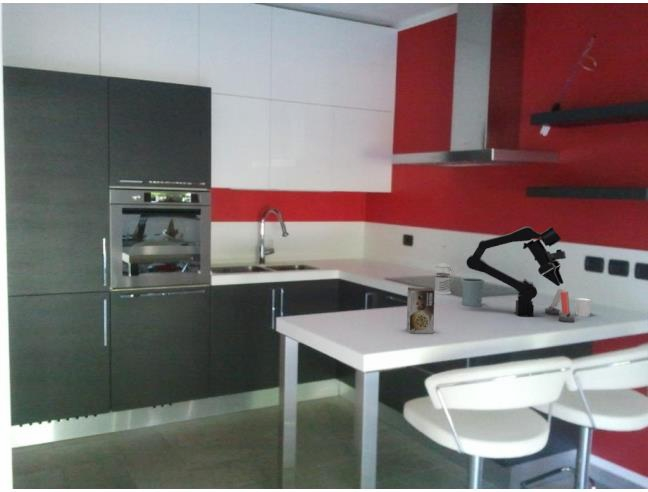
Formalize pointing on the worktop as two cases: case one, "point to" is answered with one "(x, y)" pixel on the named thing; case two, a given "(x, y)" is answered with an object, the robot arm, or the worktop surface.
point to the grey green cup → (472, 292)
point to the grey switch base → (552, 311)
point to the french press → (443, 279)
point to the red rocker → (565, 302)
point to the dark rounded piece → (566, 318)
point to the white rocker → (557, 298)
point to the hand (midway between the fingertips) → (560, 284)
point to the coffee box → (420, 310)
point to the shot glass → (583, 306)
